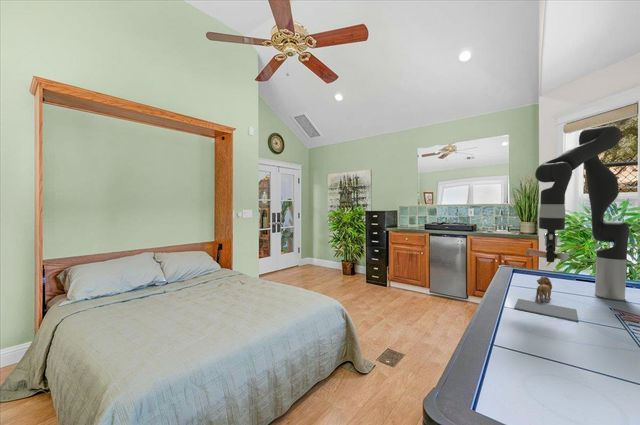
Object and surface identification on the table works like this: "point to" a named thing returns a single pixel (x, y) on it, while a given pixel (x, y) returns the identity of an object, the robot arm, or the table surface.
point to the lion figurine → (543, 289)
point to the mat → (547, 309)
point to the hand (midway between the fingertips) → (550, 260)
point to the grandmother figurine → (544, 254)
